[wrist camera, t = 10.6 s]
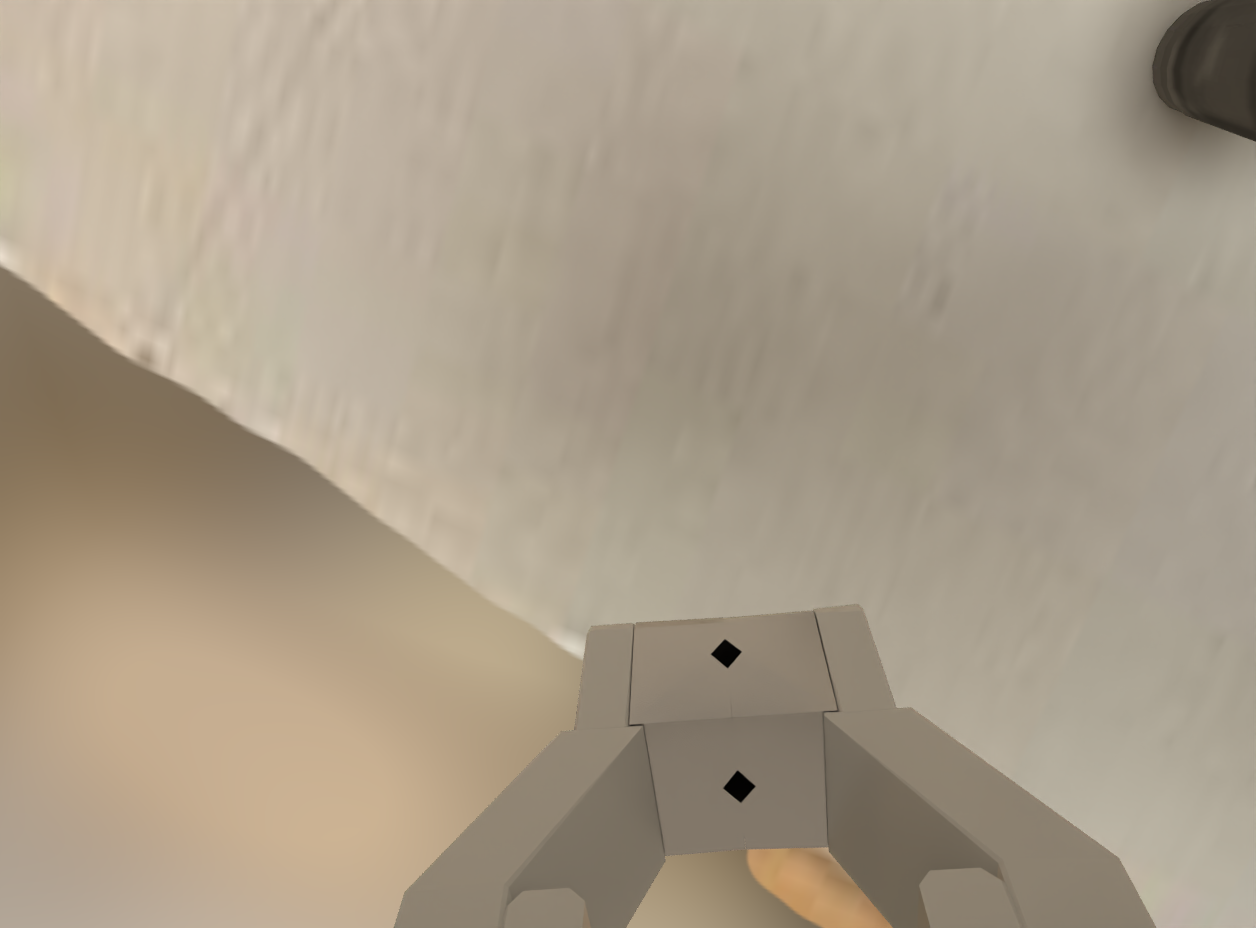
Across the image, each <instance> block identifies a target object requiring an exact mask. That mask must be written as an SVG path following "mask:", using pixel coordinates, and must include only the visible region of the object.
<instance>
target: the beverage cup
mask: <svg viewBox="0 0 1256 928" xmlns="http://www.w3.org/2000/svg"><path fill="white" fill-rule="evenodd" d="M1153 83H1154V85H1155V88H1156V90H1157V92H1158V95H1159V97H1160V98H1161V99H1162V100H1163V101H1164V102H1165V103H1166V104H1167V105H1168V106H1169V107H1171V108H1173V109H1176V110H1178V111H1181V112H1183V113H1184V114H1185V115H1187V116H1189V117H1192V118H1194V119H1197V120H1200V121H1202V122H1205V123H1207V124H1210V125H1213V126H1215V127H1218V128H1221V129H1224V130H1226V131H1229V132H1232V133H1234V134H1237V135H1240V136H1242V137H1245V138H1248V139H1250V140H1253V141H1256V0H1209V1H1206V2H1203V3H1200V4H1198V5H1196V6H1195V7H1193V8H1191V9H1190V10H1188V11H1187V12H1185V13H1184V14H1182V15H1181V16H1180V17H1179V18H1178V19H1177V20H1176V21H1175V23H1174V24H1173V25H1172V26H1171V27H1170V28H1169V29H1168V30H1167V32H1166V34H1165V35H1164V37H1163V39H1162V41H1161V42H1160V44H1159V46H1158V48H1157V52H1156V56H1155V60H1154V63H1153Z"/></svg>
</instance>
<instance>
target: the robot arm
mask: <svg viewBox="0 0 1256 928" xmlns="http://www.w3.org/2000/svg"><path fill="white" fill-rule="evenodd" d="M745 846H746V849H779V848H818V847H829V852H830V853H831V854H832V856H833V857H834V858H835V859H836V860H837V862H838V863H839V864H840V865H841V866H842V868H843V869H844V870H845V871H846V872H847V873H848V875H849V876H850V877H851V878H852V879H853V881H854V882H855V883H856V884H857V885H858V887H859V888H860V889H861V890H862V891H863V892H864V894H865V895H866V896H867V897H868V898H869V900H870V901H871V902H872V903H873V904H874V906H875V907H876V908H877V909H878V910H879V911H880V913H881V914H882V915H883V916H884V917H885V919H886V920H887V921H888V922H889V923H890V925H891V926H892V927H893V928H1156V926H1155V924H1154V922H1153V920H1152V919H1151V917H1150V915H1149V913H1148V911H1147V909H1146V907H1145V906H1144V904H1143V902H1142V900H1141V898H1140V896H1139V894H1138V893H1137V891H1136V889H1135V887H1134V885H1133V883H1132V881H1131V880H1130V878H1129V876H1128V874H1127V872H1126V870H1125V868H1124V867H1123V865H1122V863H1121V861H1120V859H1119V858H1118V857H1117V856H1116V855H1114V854H1113V853H1111V852H1110V851H1109V850H1107V849H1106V848H1105V847H1103V846H1102V845H1100V844H1099V843H1098V842H1096V841H1095V840H1093V839H1092V838H1091V837H1089V836H1088V835H1087V834H1085V833H1084V832H1082V831H1081V830H1080V829H1078V828H1077V827H1076V826H1074V825H1073V824H1071V823H1070V822H1069V821H1067V820H1066V819H1064V818H1063V817H1062V816H1060V815H1059V814H1058V813H1056V812H1055V811H1053V810H1052V809H1051V808H1049V807H1048V806H1047V805H1045V804H1044V803H1042V802H1041V801H1040V800H1038V799H1037V798H1035V797H1034V796H1033V795H1031V794H1030V793H1029V792H1027V791H1026V790H1024V789H1023V788H1022V787H1020V786H1019V785H1018V784H1016V783H1015V782H1013V781H1012V780H1011V779H1009V778H1008V777H1006V776H1005V775H1004V774H1002V773H1001V772H1000V771H998V770H997V769H995V768H994V767H993V766H991V765H990V764H989V763H987V762H986V761H984V760H983V759H982V758H980V757H979V756H977V755H976V754H975V753H973V752H972V751H971V750H969V749H968V748H966V747H965V746H964V745H962V744H961V743H960V742H958V741H957V740H955V739H954V738H953V737H951V736H950V735H948V734H947V733H946V732H944V731H943V730H942V729H940V728H939V727H937V726H936V725H935V724H933V723H932V722H931V721H929V720H928V719H926V718H925V717H924V716H922V715H921V714H919V713H918V712H917V711H915V710H914V709H913V708H896V705H895V702H894V699H893V696H892V693H891V690H890V687H889V684H888V681H887V678H886V675H885V672H884V669H883V666H882V663H881V660H880V657H879V654H878V651H877V648H876V645H875V642H874V639H873V637H872V634H871V631H870V628H869V625H868V622H867V619H866V616H865V613H864V610H863V608H862V607H860V606H859V605H858V604H855V605H845V606H836V607H827V608H817V609H813V611H801V612H789V613H777V614H765V615H753V616H742V617H730V618H723V617H722V618H705V619H688V620H671V621H653V622H636V625H635V624H633V623H626V624H612V625H598V626H591V628H590V630H589V632H588V633H587V638H586V645H585V653H584V660H583V668H582V675H581V683H580V690H579V698H578V706H577V712H576V721H575V727H574V730H572V731H561V732H560V733H559V734H558V735H557V736H556V737H555V738H554V739H553V740H552V741H551V742H550V743H549V744H548V745H547V746H546V747H545V748H544V749H543V750H542V751H541V752H540V753H539V754H538V755H537V756H536V758H534V759H533V761H532V762H531V763H530V764H529V765H528V766H527V767H526V768H525V769H524V770H523V771H522V772H521V773H520V774H519V775H518V776H517V777H516V778H515V779H514V780H513V781H512V782H511V783H510V784H509V785H508V786H507V787H506V788H505V790H503V791H502V792H501V794H500V795H499V796H498V797H497V798H496V799H495V800H494V801H493V802H492V803H491V804H490V805H489V806H488V807H487V808H486V809H485V810H484V811H483V812H482V813H481V814H480V815H479V816H478V817H477V818H476V819H475V821H473V822H472V823H471V824H470V825H469V826H468V827H467V829H466V830H465V831H464V832H463V833H462V834H461V835H460V836H459V837H458V838H457V839H456V840H455V841H454V842H453V843H452V844H451V845H450V846H449V847H448V848H447V849H446V850H445V851H444V852H443V853H442V854H441V855H440V856H439V857H438V858H437V859H436V860H435V861H434V862H433V863H432V865H430V867H429V868H428V869H427V870H426V871H425V872H424V873H423V874H422V875H421V876H420V877H419V878H418V879H417V880H416V881H415V882H414V883H413V884H412V885H411V886H410V887H409V888H408V889H407V890H406V891H405V893H404V896H403V900H402V903H401V906H400V909H399V912H398V916H397V919H396V922H395V926H394V928H626V927H627V925H628V923H629V922H630V920H631V918H632V917H633V915H634V913H635V912H636V910H637V908H638V906H639V905H640V903H641V901H642V900H643V898H644V896H645V895H646V893H647V891H648V889H649V888H650V886H651V884H652V883H653V881H654V879H655V878H656V876H657V874H658V872H659V871H660V869H661V867H662V866H663V864H664V862H665V856H670V855H682V854H694V853H706V852H718V851H731V850H743V849H745Z"/></svg>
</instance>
